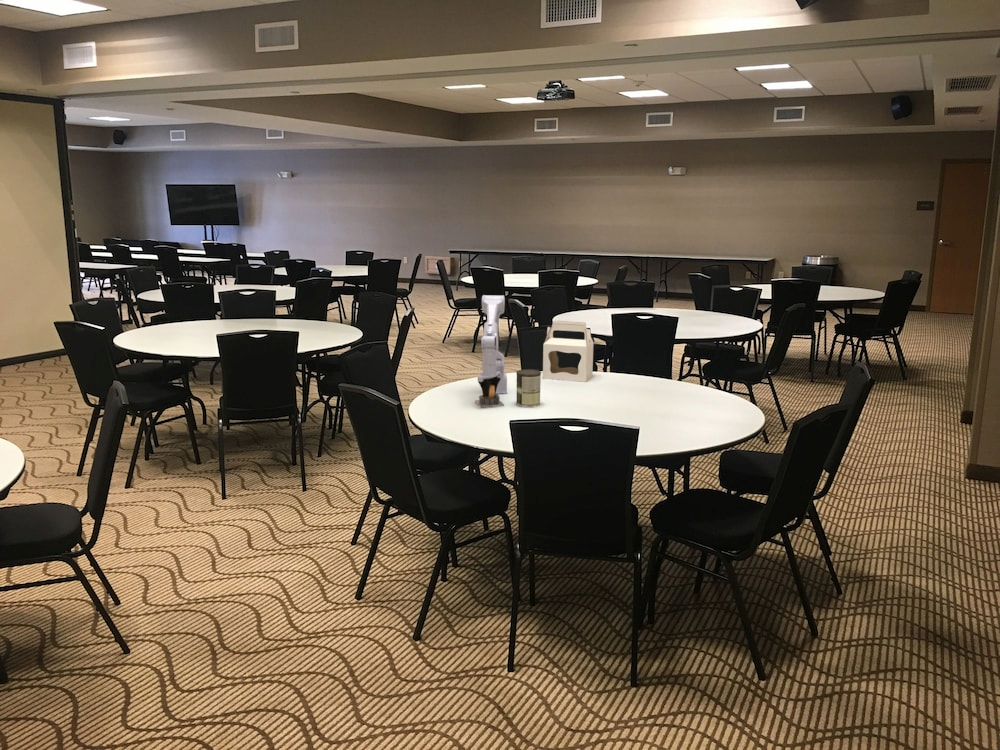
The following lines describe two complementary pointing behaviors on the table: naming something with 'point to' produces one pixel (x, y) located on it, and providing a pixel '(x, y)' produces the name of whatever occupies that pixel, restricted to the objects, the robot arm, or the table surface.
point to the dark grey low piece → (489, 401)
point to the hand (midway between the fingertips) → (489, 395)
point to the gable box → (568, 346)
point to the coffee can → (528, 387)
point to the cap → (491, 391)
